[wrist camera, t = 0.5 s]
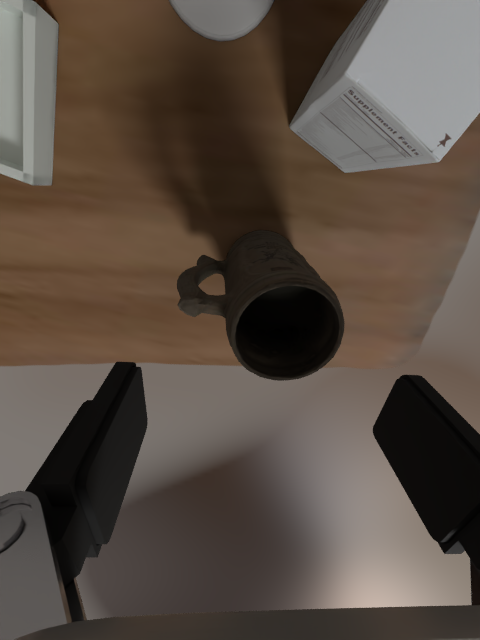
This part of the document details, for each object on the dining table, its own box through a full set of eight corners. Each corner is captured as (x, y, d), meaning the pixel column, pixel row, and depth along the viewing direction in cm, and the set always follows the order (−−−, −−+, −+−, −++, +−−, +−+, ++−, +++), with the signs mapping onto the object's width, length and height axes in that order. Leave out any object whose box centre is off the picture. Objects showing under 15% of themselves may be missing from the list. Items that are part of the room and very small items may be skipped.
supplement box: (400, 96, 29) (576, 7, 15) (345, 175, 33) (443, 167, 18) (337, 34, 27) (474, -154, 12) (285, 127, 30) (342, 71, 15)
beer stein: (308, 233, 36) (367, 277, 18) (295, 303, 41) (332, 391, 23) (198, 224, 36) (151, 260, 18) (199, 295, 41) (161, 379, 23)
